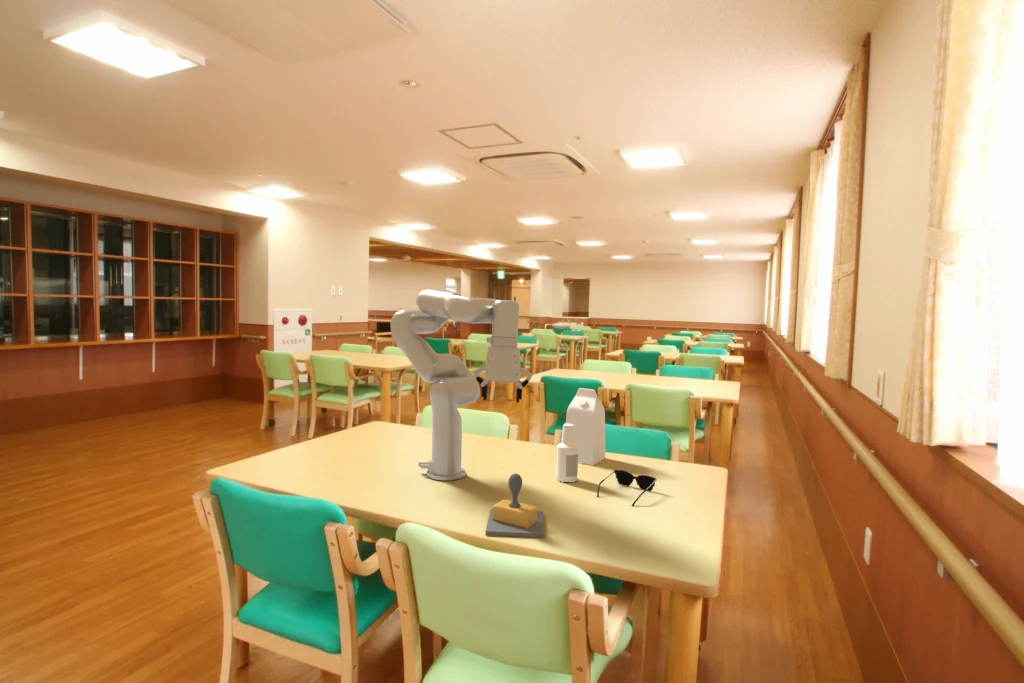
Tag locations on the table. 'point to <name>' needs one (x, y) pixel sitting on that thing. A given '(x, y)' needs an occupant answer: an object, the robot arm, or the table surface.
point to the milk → (588, 425)
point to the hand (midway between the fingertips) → (501, 400)
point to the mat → (515, 527)
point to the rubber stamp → (515, 507)
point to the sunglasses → (627, 479)
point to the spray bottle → (567, 456)
